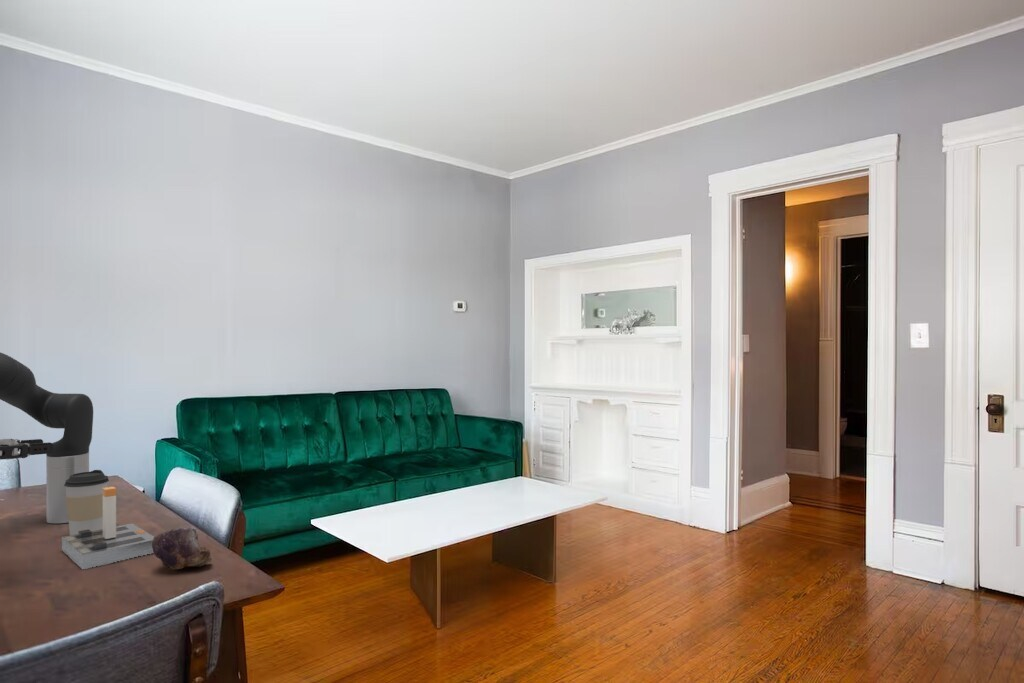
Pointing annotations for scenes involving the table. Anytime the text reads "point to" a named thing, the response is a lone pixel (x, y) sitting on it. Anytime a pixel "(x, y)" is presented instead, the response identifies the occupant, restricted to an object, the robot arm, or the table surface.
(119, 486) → the table surface
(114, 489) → the orange-capped grey post
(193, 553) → the rock
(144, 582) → the table surface
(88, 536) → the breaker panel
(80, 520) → the coffee cup
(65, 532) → the table surface
